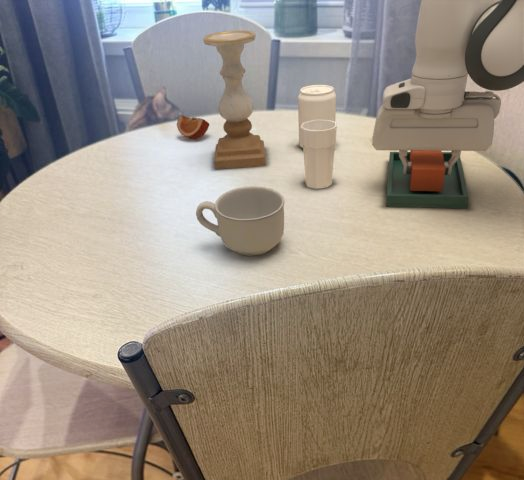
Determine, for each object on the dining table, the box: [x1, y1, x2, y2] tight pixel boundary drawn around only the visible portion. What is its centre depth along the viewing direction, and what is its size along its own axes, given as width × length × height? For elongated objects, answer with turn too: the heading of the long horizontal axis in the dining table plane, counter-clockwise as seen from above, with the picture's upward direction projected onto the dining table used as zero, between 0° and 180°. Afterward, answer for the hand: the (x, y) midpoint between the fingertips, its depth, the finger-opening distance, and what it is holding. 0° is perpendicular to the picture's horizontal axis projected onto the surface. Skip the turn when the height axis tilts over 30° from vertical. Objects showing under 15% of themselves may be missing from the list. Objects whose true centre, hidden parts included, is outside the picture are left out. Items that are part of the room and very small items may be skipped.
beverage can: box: [297, 84, 337, 149], centre depth 117 cm, size 8×8×12 cm
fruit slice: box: [176, 114, 210, 140], centre depth 130 cm, size 8×7×5 cm
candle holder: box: [202, 30, 267, 170], centre depth 110 cm, size 11×11×24 cm
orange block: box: [410, 153, 445, 191], centre depth 97 cm, size 6×8×4 cm
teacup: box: [195, 185, 285, 257], centre depth 84 cm, size 14×11×8 cm
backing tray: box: [385, 151, 470, 209], centre depth 101 cm, size 14×22×2 cm, turn 168°
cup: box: [301, 120, 338, 190], centre depth 101 cm, size 7×7×11 cm
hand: (426, 173), depth 97 cm, fingers closed on orange block, 5 cm apart
